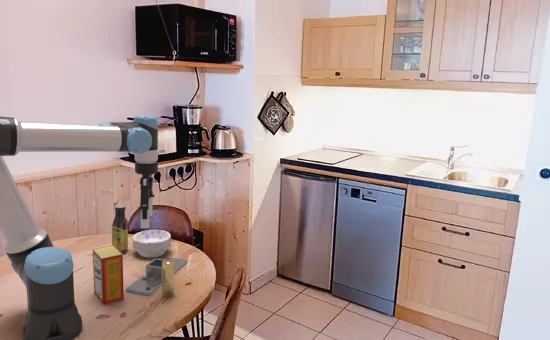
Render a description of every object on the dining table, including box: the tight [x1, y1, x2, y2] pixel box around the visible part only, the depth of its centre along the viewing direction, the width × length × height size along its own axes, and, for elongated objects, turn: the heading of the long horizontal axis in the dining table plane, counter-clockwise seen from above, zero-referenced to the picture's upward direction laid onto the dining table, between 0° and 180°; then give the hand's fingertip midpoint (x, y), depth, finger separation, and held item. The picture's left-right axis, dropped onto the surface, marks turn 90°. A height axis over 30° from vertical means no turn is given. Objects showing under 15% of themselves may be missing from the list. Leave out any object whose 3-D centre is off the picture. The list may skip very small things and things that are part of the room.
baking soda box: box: [92, 244, 125, 306], centre depth 144 cm, size 10×6×16 cm
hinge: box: [125, 256, 189, 297], centre depth 161 cm, size 29×9×5 cm, turn 166°
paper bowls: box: [132, 229, 172, 259], centre depth 181 cm, size 15×15×8 cm
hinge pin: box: [161, 259, 175, 299], centre depth 147 cm, size 4×4×12 cm
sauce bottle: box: [111, 204, 129, 255], centre depth 180 cm, size 6×6×20 cm
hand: (146, 221), depth 152 cm, fingers open, 13 cm apart
